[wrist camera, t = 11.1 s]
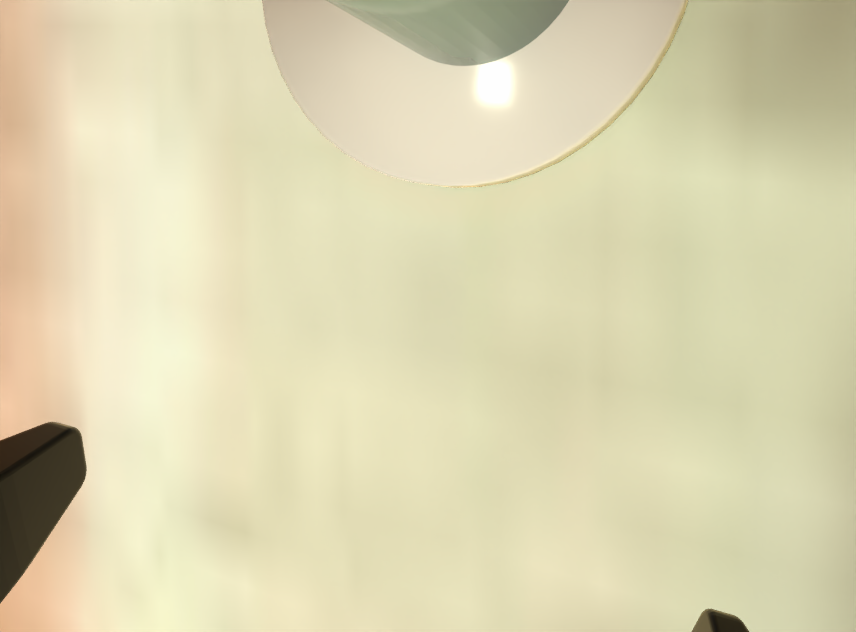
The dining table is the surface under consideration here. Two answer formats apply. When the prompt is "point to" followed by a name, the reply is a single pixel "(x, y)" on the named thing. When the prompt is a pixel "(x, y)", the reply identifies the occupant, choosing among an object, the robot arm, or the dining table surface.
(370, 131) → the saucer
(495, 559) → the dining table surface
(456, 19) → the flower pot
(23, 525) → the robot arm
